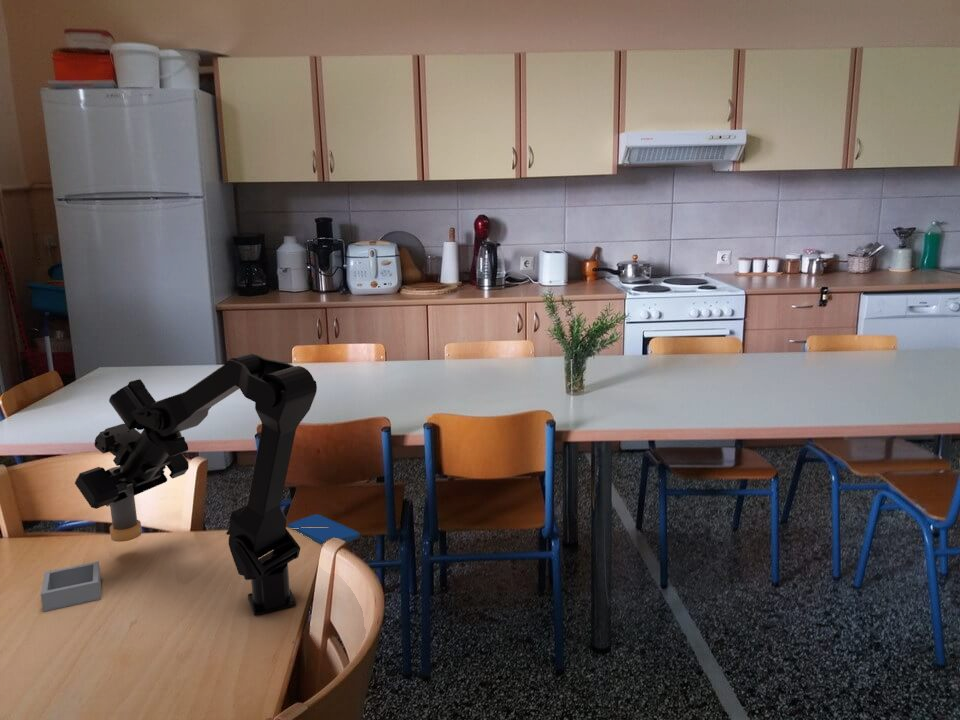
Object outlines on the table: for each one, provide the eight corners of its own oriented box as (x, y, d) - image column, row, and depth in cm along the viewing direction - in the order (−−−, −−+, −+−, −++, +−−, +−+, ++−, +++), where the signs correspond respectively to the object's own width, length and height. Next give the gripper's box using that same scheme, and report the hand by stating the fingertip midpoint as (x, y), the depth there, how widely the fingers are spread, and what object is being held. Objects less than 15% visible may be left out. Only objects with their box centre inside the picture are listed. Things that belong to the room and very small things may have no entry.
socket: (100, 599, 119) (98, 582, 118) (43, 611, 116) (40, 594, 115) (100, 577, 126) (98, 561, 125) (47, 588, 123) (44, 572, 122)
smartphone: (317, 513, 150) (362, 533, 140) (317, 517, 151) (362, 537, 140) (285, 524, 145) (329, 546, 135) (285, 529, 145) (329, 551, 135)
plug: (135, 540, 130) (127, 474, 128) (106, 542, 130) (97, 475, 127) (146, 528, 135) (138, 464, 132) (117, 530, 135) (109, 465, 132)
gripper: (171, 399, 134) (137, 449, 141) (74, 427, 118) (41, 482, 125) (206, 447, 132) (170, 495, 139) (112, 481, 116) (77, 534, 123)
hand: (117, 499), depth 132 cm, fingers closed on plug, 4 cm apart
